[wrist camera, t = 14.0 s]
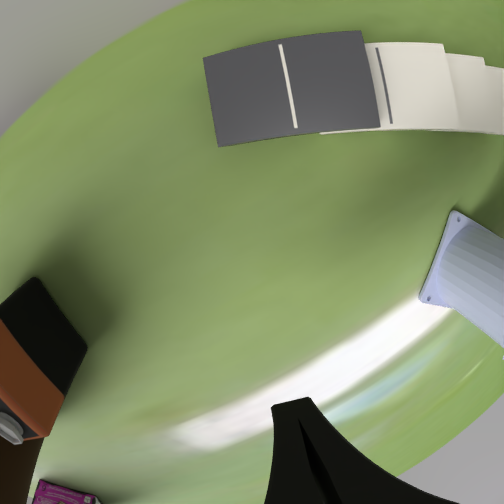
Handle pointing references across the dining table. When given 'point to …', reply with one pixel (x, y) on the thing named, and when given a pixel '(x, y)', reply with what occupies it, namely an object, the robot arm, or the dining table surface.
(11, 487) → the olive oil
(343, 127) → the domino
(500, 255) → the robot arm
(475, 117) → the domino
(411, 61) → the domino
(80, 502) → the candy bar box
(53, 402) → the battery
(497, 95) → the domino
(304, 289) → the dining table surface
